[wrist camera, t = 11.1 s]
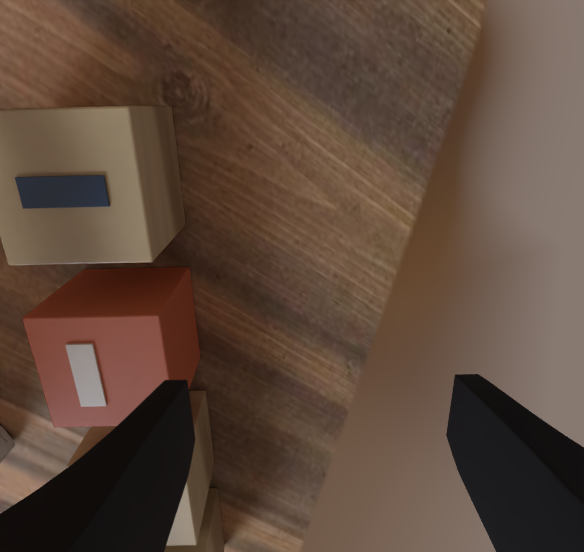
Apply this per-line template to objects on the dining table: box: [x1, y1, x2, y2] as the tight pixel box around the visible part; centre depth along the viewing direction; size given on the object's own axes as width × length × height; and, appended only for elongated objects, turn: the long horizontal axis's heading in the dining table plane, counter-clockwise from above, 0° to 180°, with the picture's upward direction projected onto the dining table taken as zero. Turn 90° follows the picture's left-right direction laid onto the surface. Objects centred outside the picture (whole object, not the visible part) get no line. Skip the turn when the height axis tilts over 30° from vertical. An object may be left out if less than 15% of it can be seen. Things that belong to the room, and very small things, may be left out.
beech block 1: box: [0, 106, 186, 265], centre depth 16 cm, size 5×5×5 cm
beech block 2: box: [67, 390, 214, 546], centre depth 21 cm, size 5×5×5 cm
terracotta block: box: [23, 267, 201, 427], centre depth 18 cm, size 5×5×5 cm
